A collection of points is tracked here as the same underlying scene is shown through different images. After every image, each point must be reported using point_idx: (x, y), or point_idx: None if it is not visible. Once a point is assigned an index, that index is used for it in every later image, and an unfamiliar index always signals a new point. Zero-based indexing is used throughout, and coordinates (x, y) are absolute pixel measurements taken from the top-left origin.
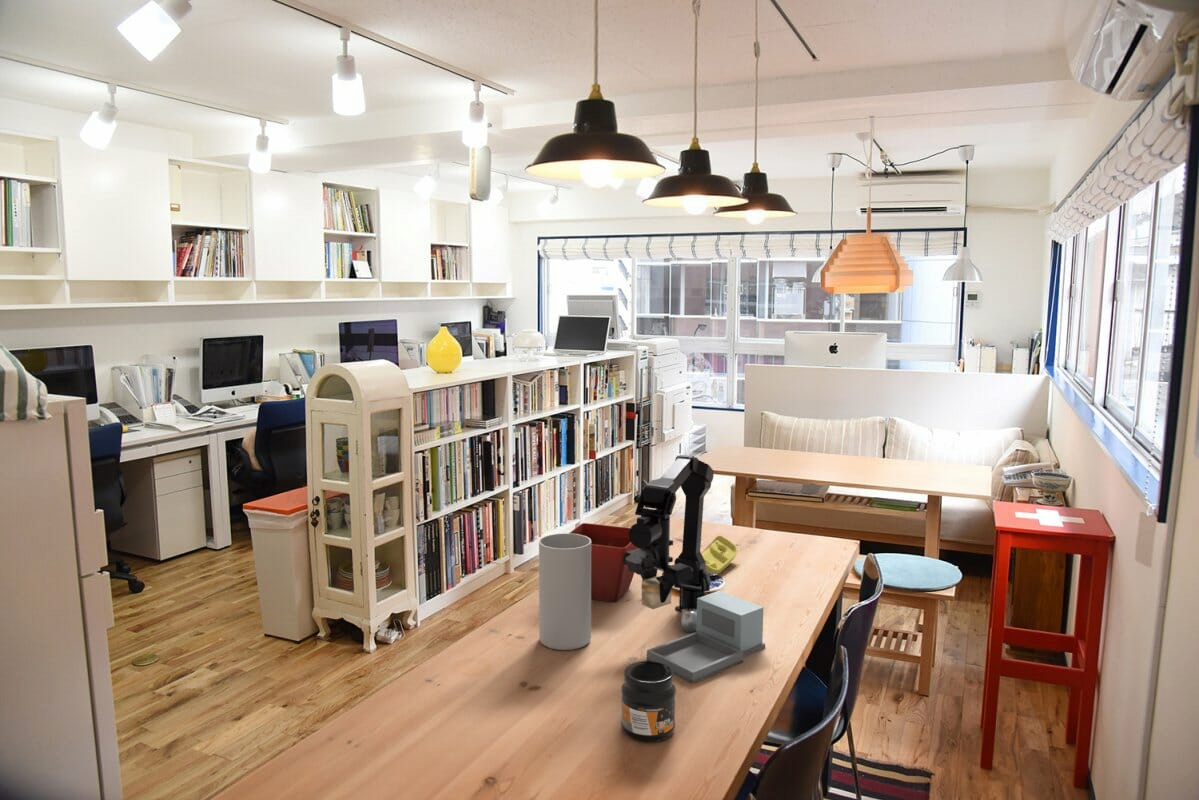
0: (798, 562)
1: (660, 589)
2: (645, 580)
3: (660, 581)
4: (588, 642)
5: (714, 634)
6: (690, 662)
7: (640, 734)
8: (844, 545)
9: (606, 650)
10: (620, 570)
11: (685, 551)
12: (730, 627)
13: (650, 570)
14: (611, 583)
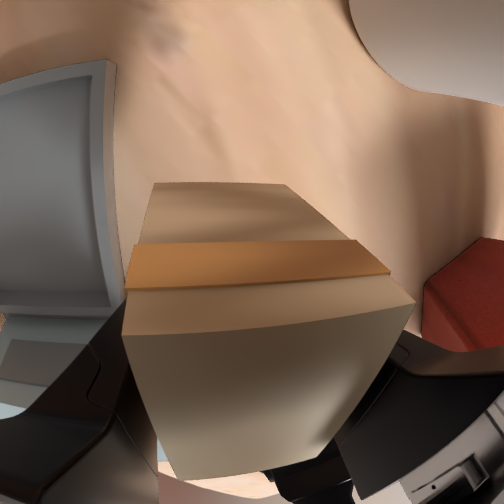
0: (265, 481)
1: (122, 351)
2: (373, 339)
3: (23, 439)
4: (355, 26)
5: (77, 334)
6: (9, 173)
7: None
8: (257, 497)
9: (282, 24)
10: (469, 334)
11: (340, 502)
12: (11, 360)
13: (397, 459)
14: (461, 298)
